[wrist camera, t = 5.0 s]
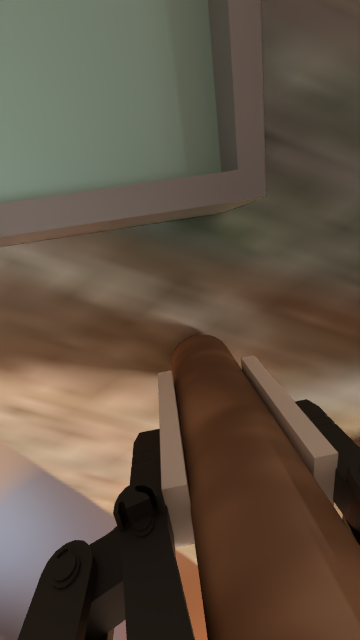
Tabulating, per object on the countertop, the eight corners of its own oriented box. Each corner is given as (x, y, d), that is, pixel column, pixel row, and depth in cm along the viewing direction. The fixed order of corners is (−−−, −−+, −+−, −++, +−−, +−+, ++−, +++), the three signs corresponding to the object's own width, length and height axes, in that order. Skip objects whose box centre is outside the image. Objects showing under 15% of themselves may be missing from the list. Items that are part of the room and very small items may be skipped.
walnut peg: (227, 329, 16) (619, 816, 2) (231, 382, 17) (504, 882, 4) (166, 340, 15) (237, 932, 2) (175, 392, 17) (256, 959, 4)
